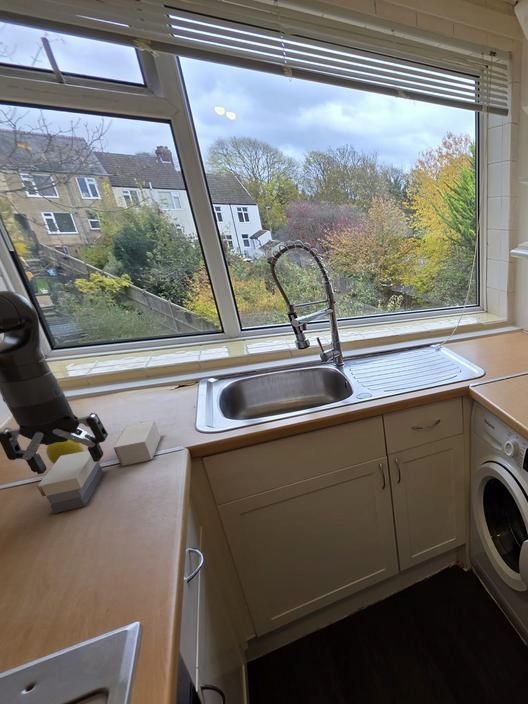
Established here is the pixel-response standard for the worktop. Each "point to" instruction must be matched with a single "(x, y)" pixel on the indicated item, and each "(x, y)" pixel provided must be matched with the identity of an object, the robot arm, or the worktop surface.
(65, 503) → the gray block
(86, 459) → the cream flat slab
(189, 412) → the worktop surface
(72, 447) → the lemon
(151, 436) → the white block
